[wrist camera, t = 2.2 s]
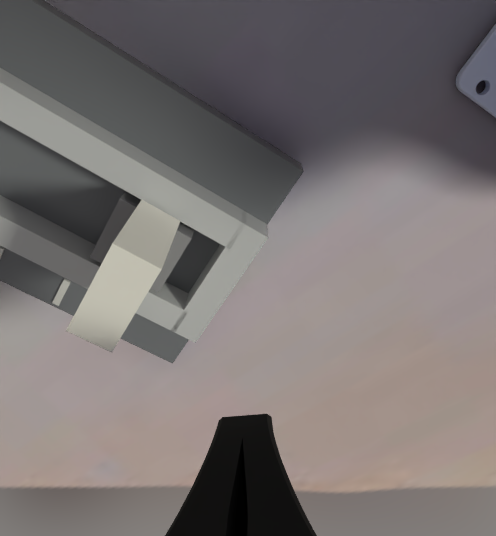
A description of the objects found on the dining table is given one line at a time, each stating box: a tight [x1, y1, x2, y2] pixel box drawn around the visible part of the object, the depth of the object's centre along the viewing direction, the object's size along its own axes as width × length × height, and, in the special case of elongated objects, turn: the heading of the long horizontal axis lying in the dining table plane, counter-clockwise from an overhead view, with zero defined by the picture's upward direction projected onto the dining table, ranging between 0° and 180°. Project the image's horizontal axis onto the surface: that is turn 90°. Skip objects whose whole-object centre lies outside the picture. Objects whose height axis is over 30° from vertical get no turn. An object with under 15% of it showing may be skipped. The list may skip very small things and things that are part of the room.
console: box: [0, 0, 303, 363], centre depth 18 cm, size 18×11×3 cm, turn 58°
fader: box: [66, 191, 194, 352], centre depth 17 cm, size 3×4×6 cm
